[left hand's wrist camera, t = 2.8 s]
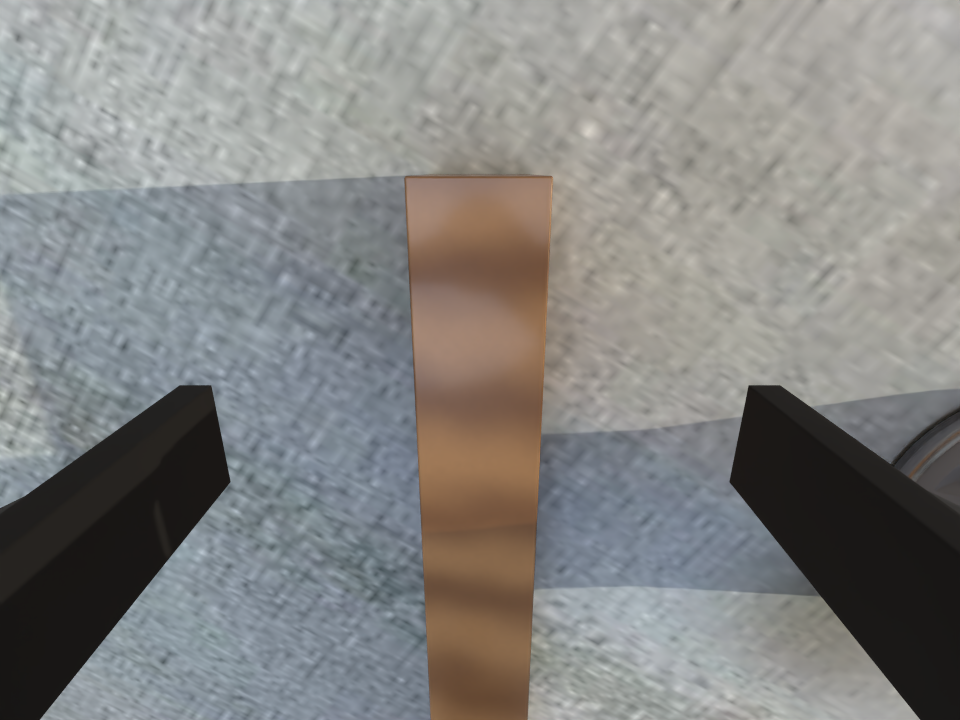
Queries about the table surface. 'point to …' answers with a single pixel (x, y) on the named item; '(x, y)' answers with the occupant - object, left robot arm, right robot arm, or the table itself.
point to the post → (478, 427)
